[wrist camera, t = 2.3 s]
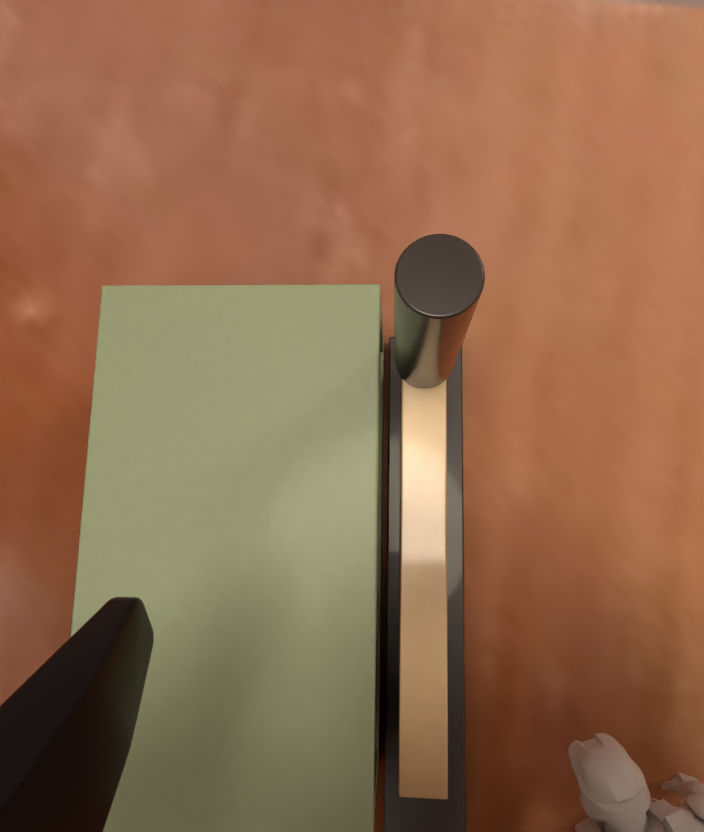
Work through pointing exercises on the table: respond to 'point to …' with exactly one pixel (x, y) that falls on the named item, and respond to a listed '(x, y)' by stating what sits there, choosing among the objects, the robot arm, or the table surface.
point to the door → (427, 493)
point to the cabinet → (259, 556)
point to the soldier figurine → (629, 792)
